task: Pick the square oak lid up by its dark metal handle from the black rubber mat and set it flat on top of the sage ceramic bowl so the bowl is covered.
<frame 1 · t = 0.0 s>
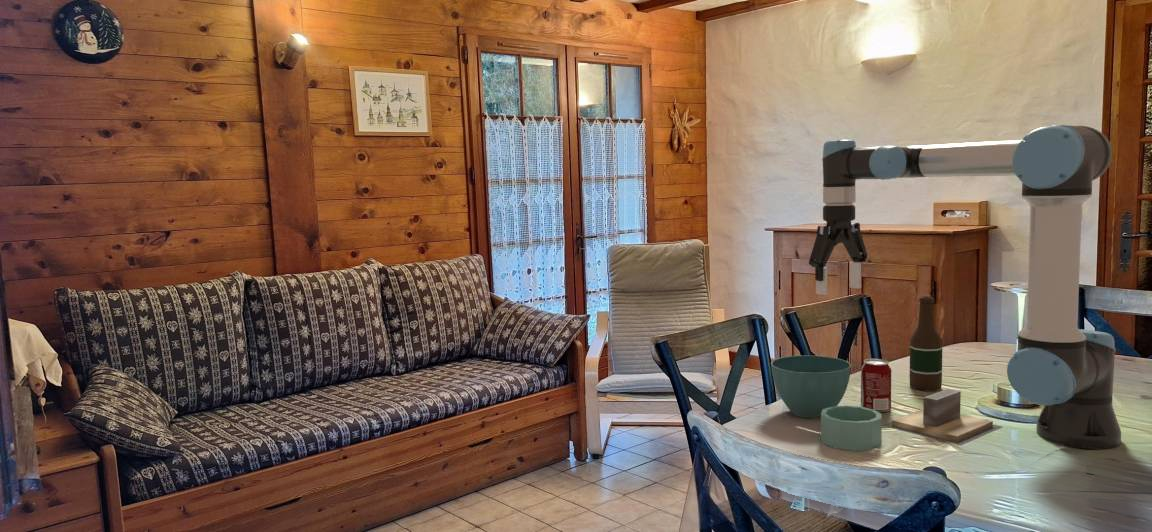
hand: (838, 291, 197), 28 cm above the table, tool pointing down, fingers open, 13 cm apart
soda can: (875, 411, 193), on the table
beer bottle: (925, 388, 211), on the table
lid: (941, 426, 178), resting on mat
mat: (941, 427, 178), on the table
bowl: (850, 441, 172), on the table
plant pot: (810, 414, 192), on the table
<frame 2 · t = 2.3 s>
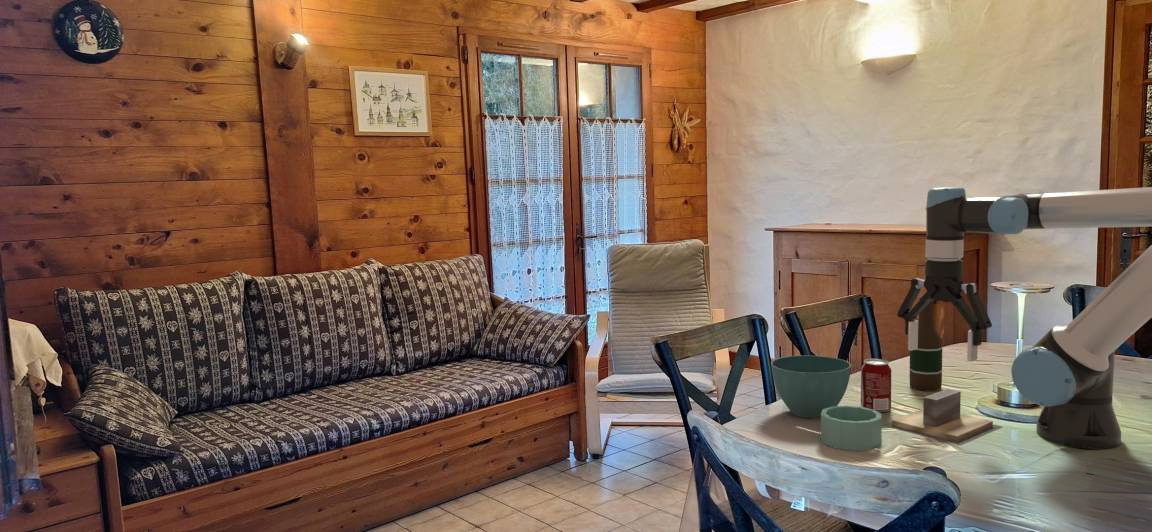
hand: (941, 354, 177), 16 cm above the table, tool pointing down, fingers open, 13 cm apart
nothing on the table moved.
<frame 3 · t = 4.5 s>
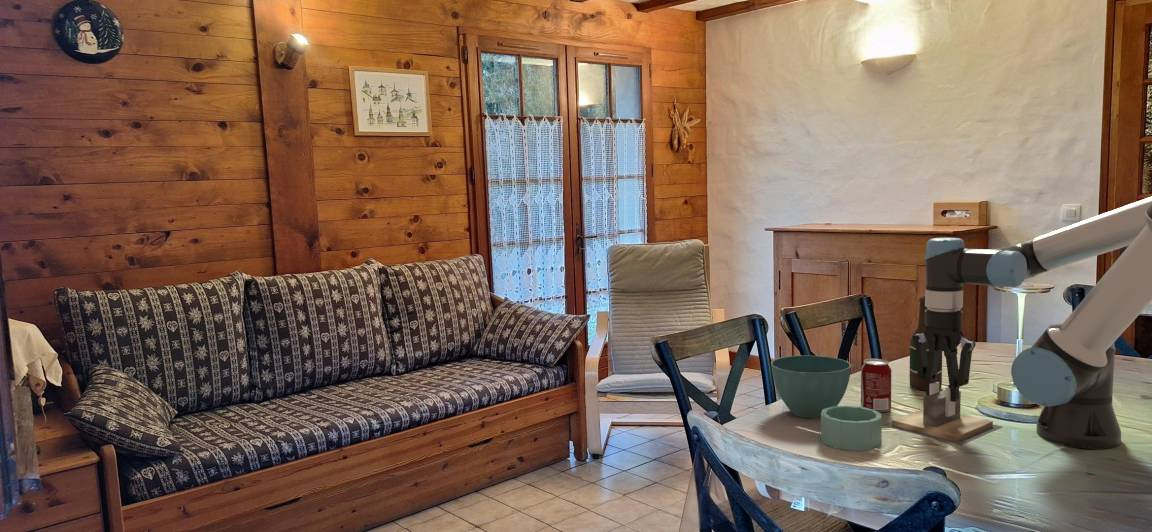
hand: (942, 413, 178), 3 cm above the table, tool pointing down, fingers closed on lid, 3 cm apart
lid: (941, 426, 178), resting on mat, touching gripper
everything else where it was.
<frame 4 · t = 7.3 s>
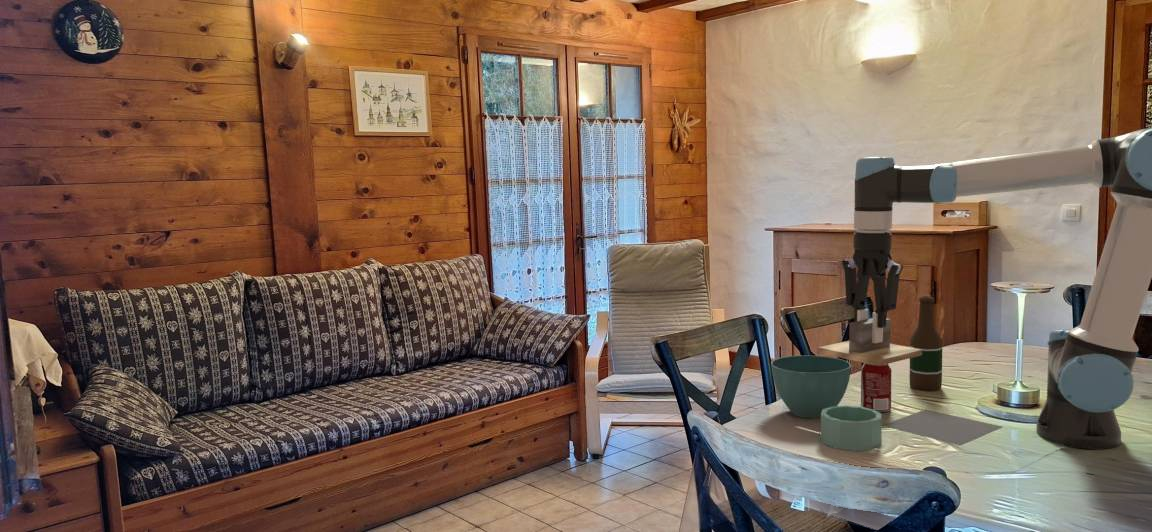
hand: (869, 340, 171), 21 cm above the table, tool pointing down, fingers closed on lid, 3 cm apart
lid: (869, 353, 172), point 18 cm above the table, touching gripper
everything else where it was.
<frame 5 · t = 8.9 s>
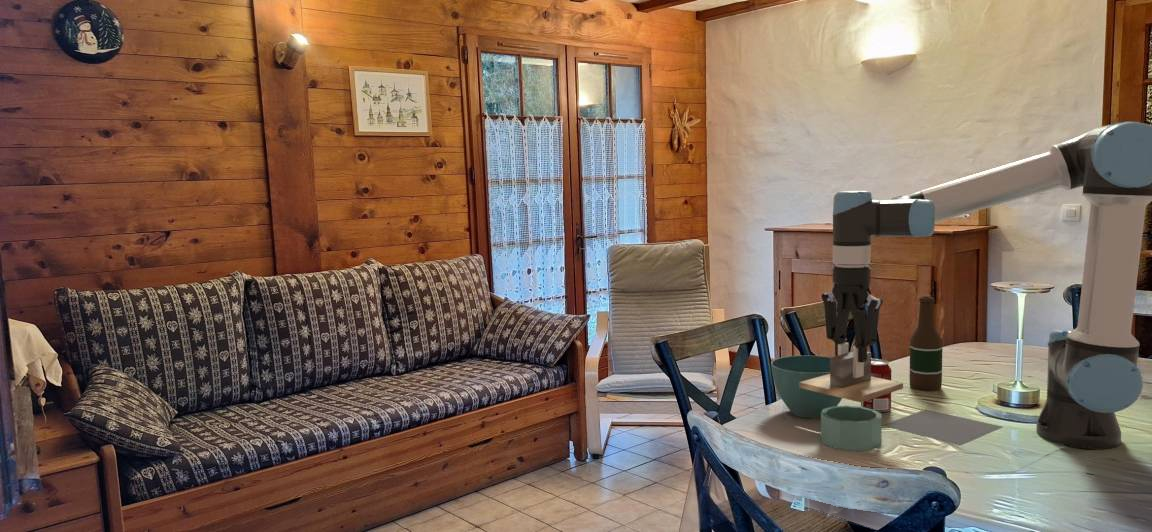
hand: (850, 374, 170), 14 cm above the table, tool pointing down, fingers closed on lid, 3 cm apart
lid: (850, 388, 171), point 12 cm above the table, touching gripper
everything else where it was.
when the fingers open (10 cm above the table, at t = 10.2 s): lid drops 2 cm, resting on bowl.
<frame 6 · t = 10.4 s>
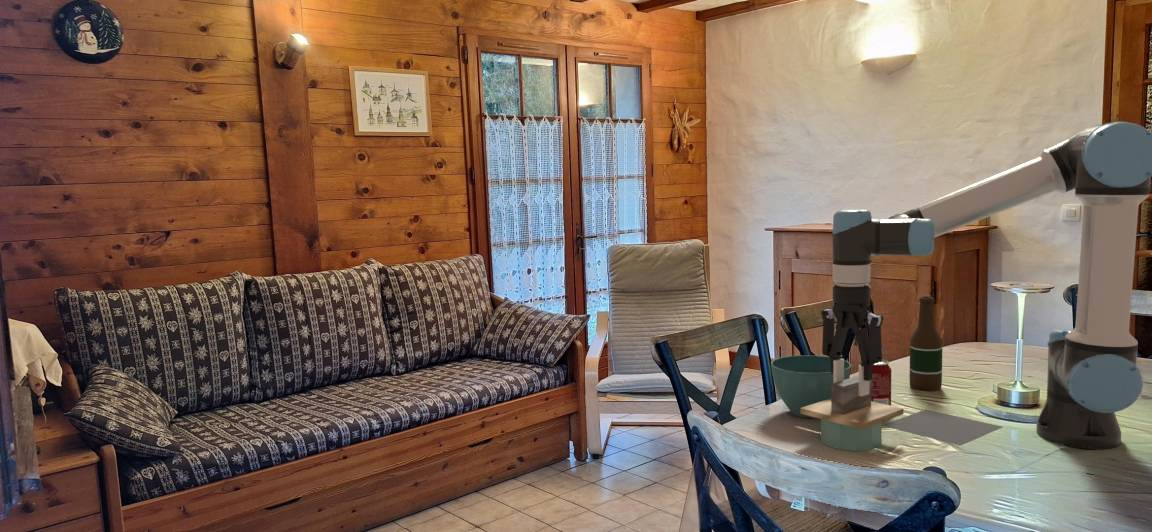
hand: (851, 391, 171), 11 cm above the table, tool pointing down, fingers open, 5 cm apart
lid: (851, 413, 171), point 6 cm above the table, touching bowl
everything else where it was.
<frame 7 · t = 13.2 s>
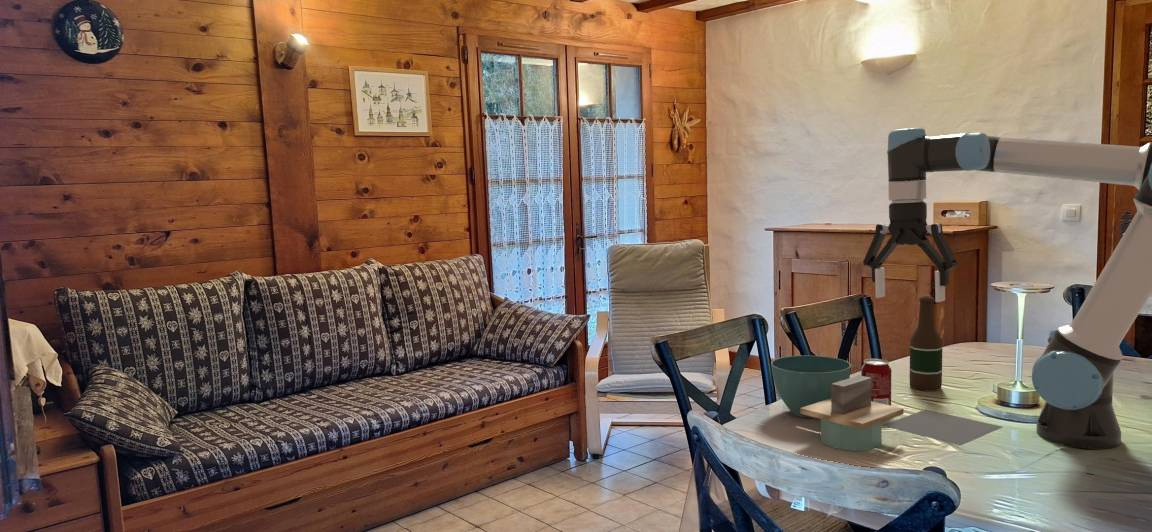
hand: (909, 299, 175), 29 cm above the table, tool pointing down, fingers open, 13 cm apart
nothing on the table moved.
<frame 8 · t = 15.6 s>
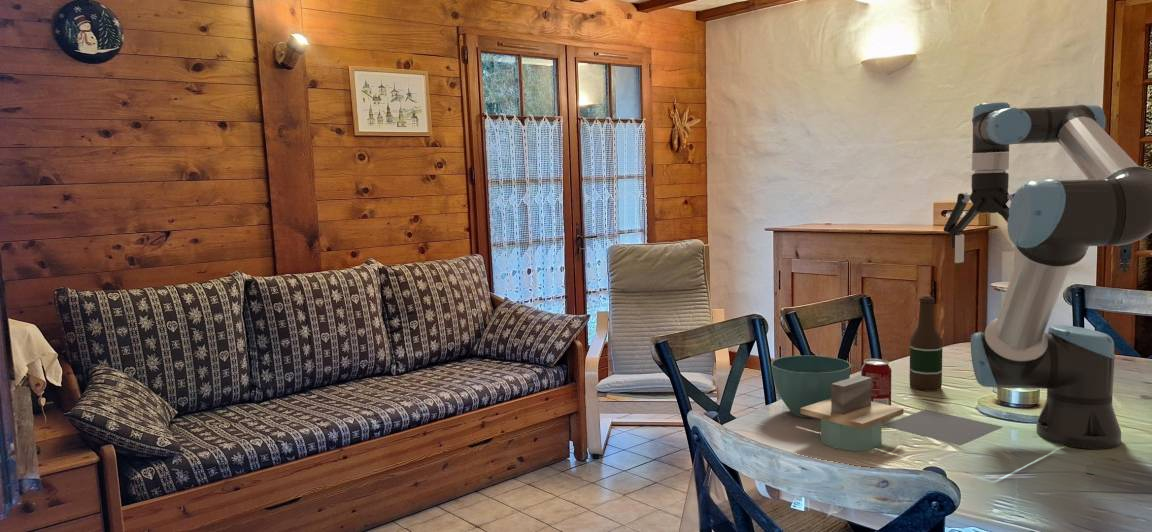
hand: (988, 264, 186), 35 cm above the table, tool pointing down, fingers open, 13 cm apart
nothing on the table moved.
at the end: lid 0.1 cm off-centre on the bowl, point 6.0 cm above the bowl's base; lid tilted 0°; the gripper is holding nothing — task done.
